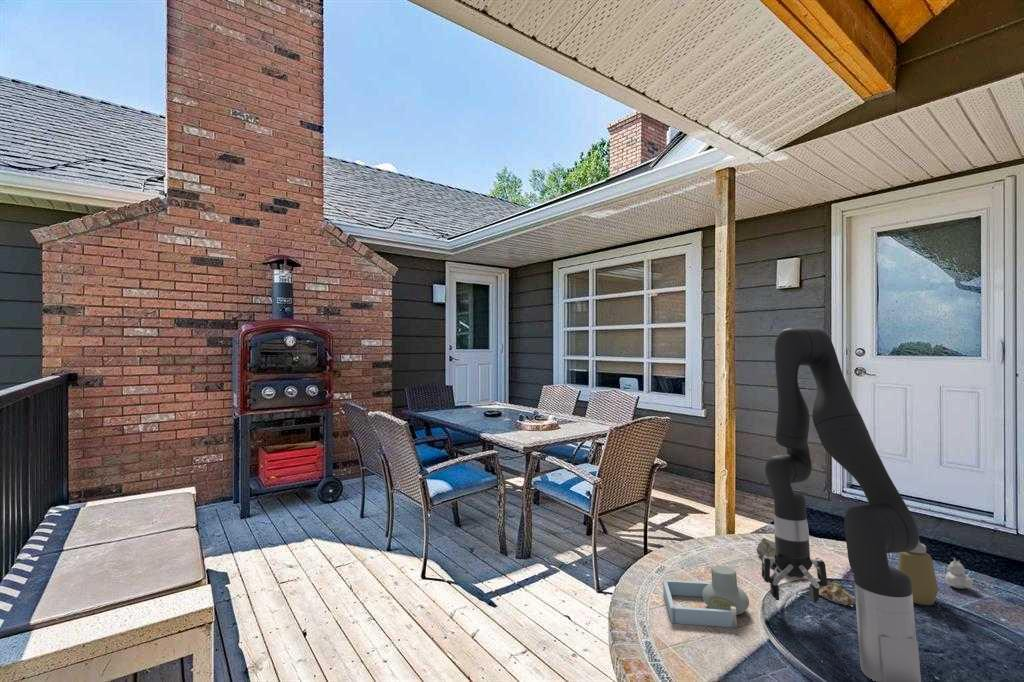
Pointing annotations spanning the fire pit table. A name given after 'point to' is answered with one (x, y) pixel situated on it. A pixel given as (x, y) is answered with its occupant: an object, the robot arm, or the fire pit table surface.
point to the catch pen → (695, 614)
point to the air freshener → (725, 591)
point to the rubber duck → (958, 576)
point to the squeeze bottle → (919, 574)
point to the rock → (766, 548)
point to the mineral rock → (836, 593)
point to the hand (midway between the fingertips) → (794, 600)
